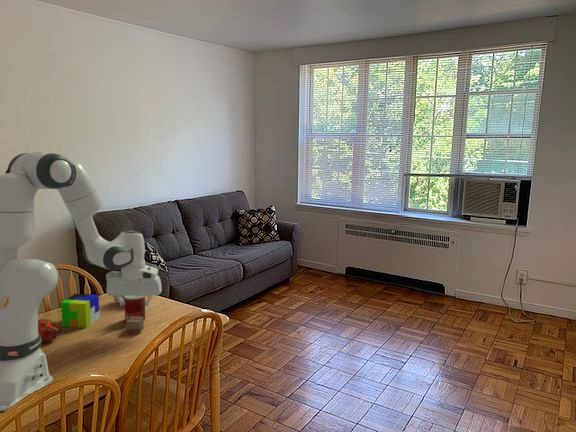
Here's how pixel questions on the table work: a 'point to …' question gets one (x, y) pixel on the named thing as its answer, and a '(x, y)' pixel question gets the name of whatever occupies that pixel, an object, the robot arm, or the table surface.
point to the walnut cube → (135, 325)
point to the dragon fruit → (47, 330)
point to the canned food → (134, 306)
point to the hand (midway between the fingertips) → (135, 305)
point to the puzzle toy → (80, 310)
